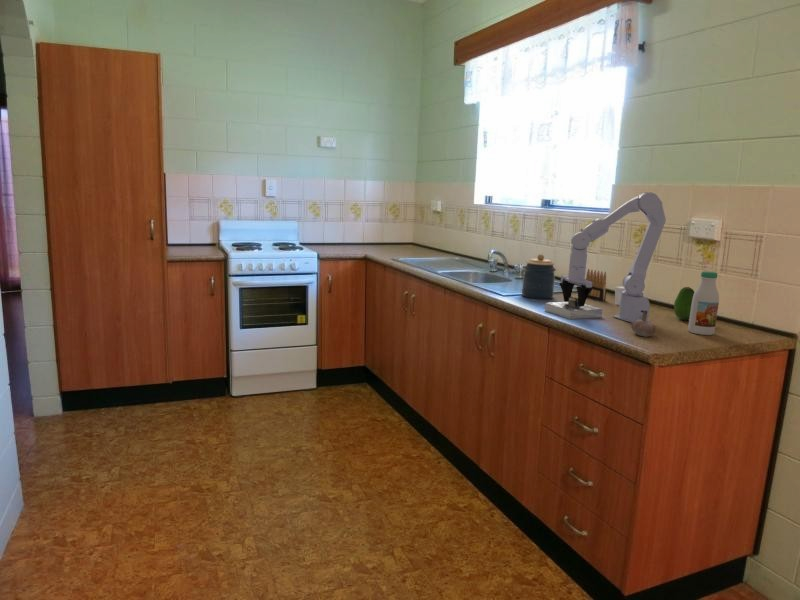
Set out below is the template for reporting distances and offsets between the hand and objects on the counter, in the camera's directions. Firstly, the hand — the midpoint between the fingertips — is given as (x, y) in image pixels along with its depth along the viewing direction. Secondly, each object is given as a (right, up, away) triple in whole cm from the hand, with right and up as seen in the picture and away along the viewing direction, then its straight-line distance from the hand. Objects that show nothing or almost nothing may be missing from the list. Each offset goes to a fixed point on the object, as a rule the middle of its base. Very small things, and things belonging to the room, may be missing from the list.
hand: (573, 303), depth 212 cm
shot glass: (+26, -1, +23) cm, 35 cm away
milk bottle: (+35, -9, -20) cm, 42 cm away
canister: (-6, +3, +33) cm, 33 cm away
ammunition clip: (+18, +2, +33) cm, 38 cm away
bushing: (0, -4, +1) cm, 4 cm away
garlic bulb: (+14, -10, -26) cm, 31 cm away
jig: (0, -4, +1) cm, 4 cm away
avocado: (+39, -6, -2) cm, 40 cm away
